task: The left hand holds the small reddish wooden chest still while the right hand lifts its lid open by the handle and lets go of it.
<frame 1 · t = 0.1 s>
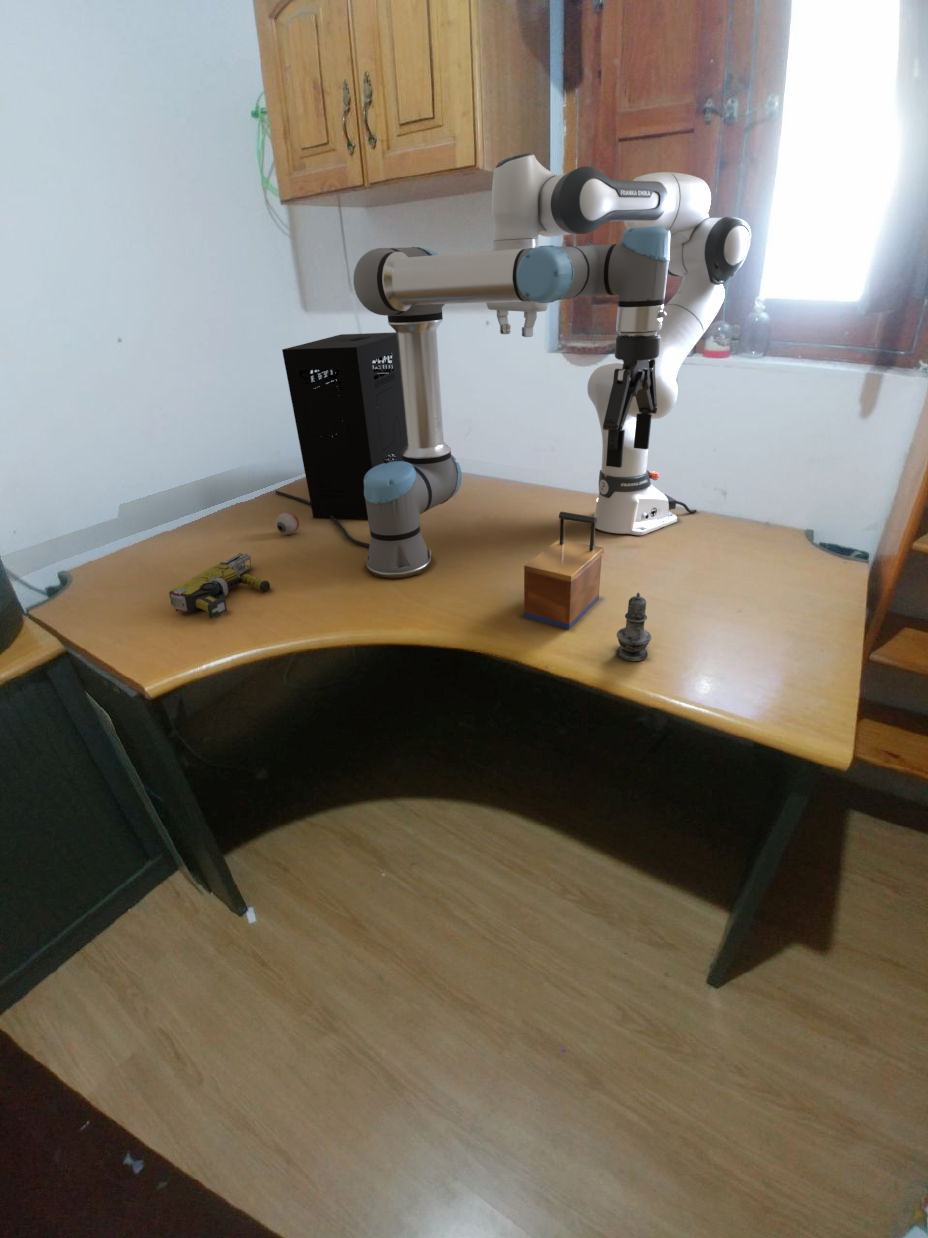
left hand: (628, 457, 114), 28 cm above the table, tool pointing down, fingers open, 13 cm apart
right hand: (516, 335, 125), 48 cm above the table, tool pointing down, fingers open, 8 cm apart
toy gun: (235, 593, 135), on the table
eyeball: (289, 534, 165), on the table
grey chess piece: (632, 653, 107), on the table
chest: (562, 607, 122), on the table
lid: (565, 542, 115), point 14 cm above the table, hinge at 0.0°
black computer case: (369, 497, 189), on the table
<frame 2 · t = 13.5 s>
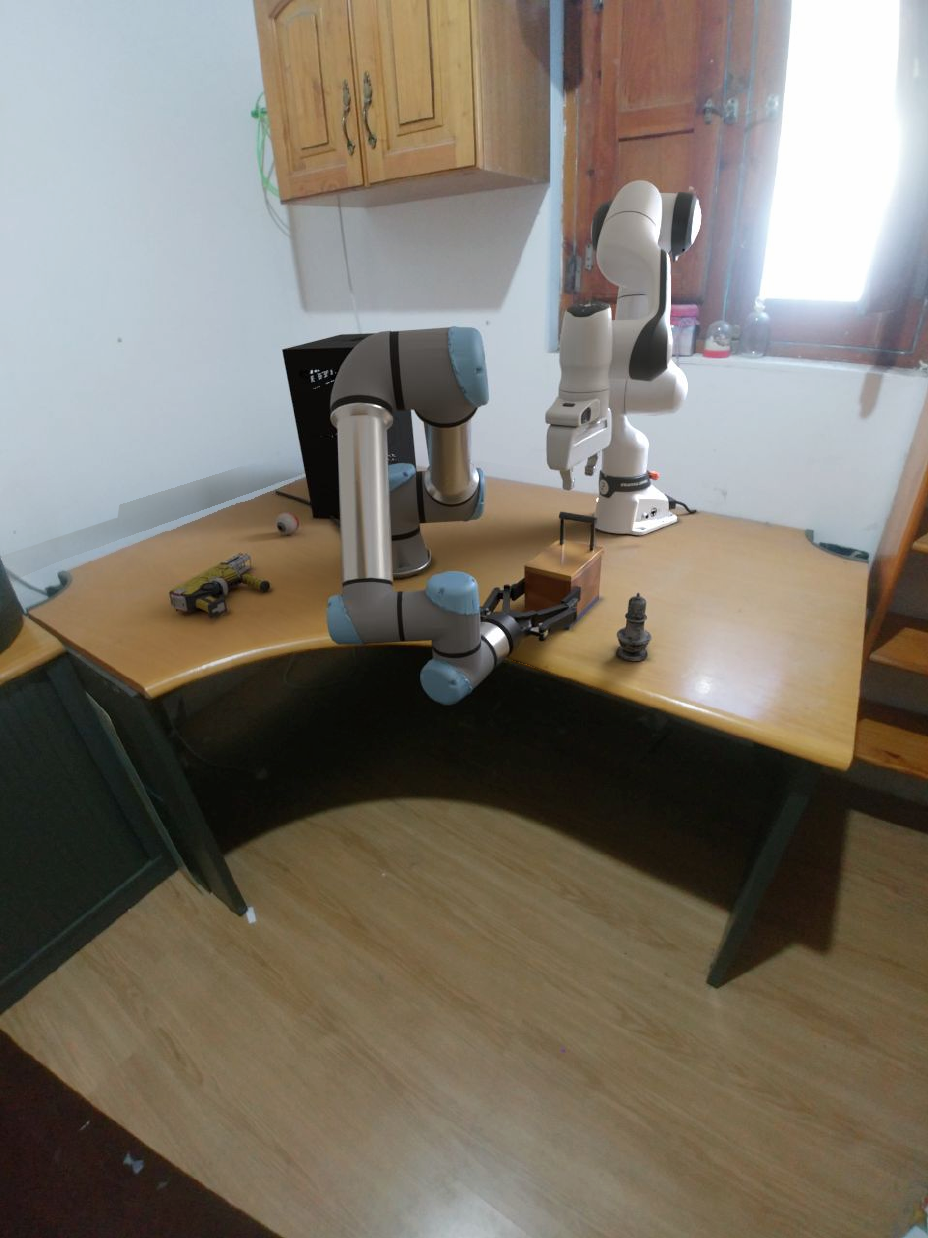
left hand: (553, 586, 116), 7 cm above the table, tool horizontal, fingers closed on chest, 10 cm apart
right hand: (579, 481, 114), 25 cm above the table, tool pointing down, fingers open, 8 cm apart
chest: (562, 607, 122), on the table, touching left hand
everything else where it was.
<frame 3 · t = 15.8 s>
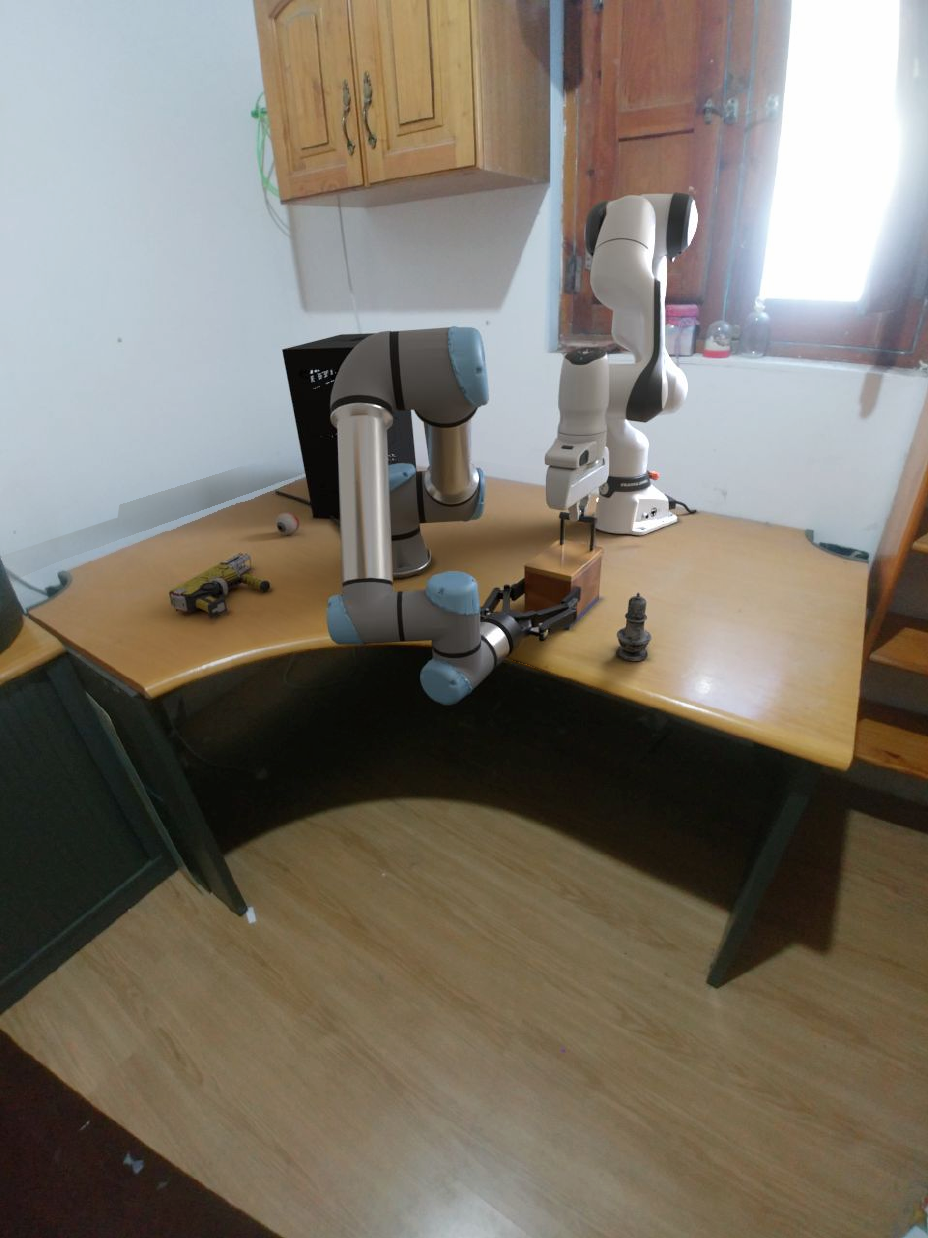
left hand: (553, 587, 116), 7 cm above the table, tool horizontal, fingers closed on chest, 10 cm apart
right hand: (578, 517, 117), 17 cm above the table, tool pointing down, fingers closed on lid
chest: (562, 607, 122), on the table, touching left hand
lid: (565, 542, 115), point 14 cm above the table, hinge at -0.1°, touching right hand
everything else where it was.
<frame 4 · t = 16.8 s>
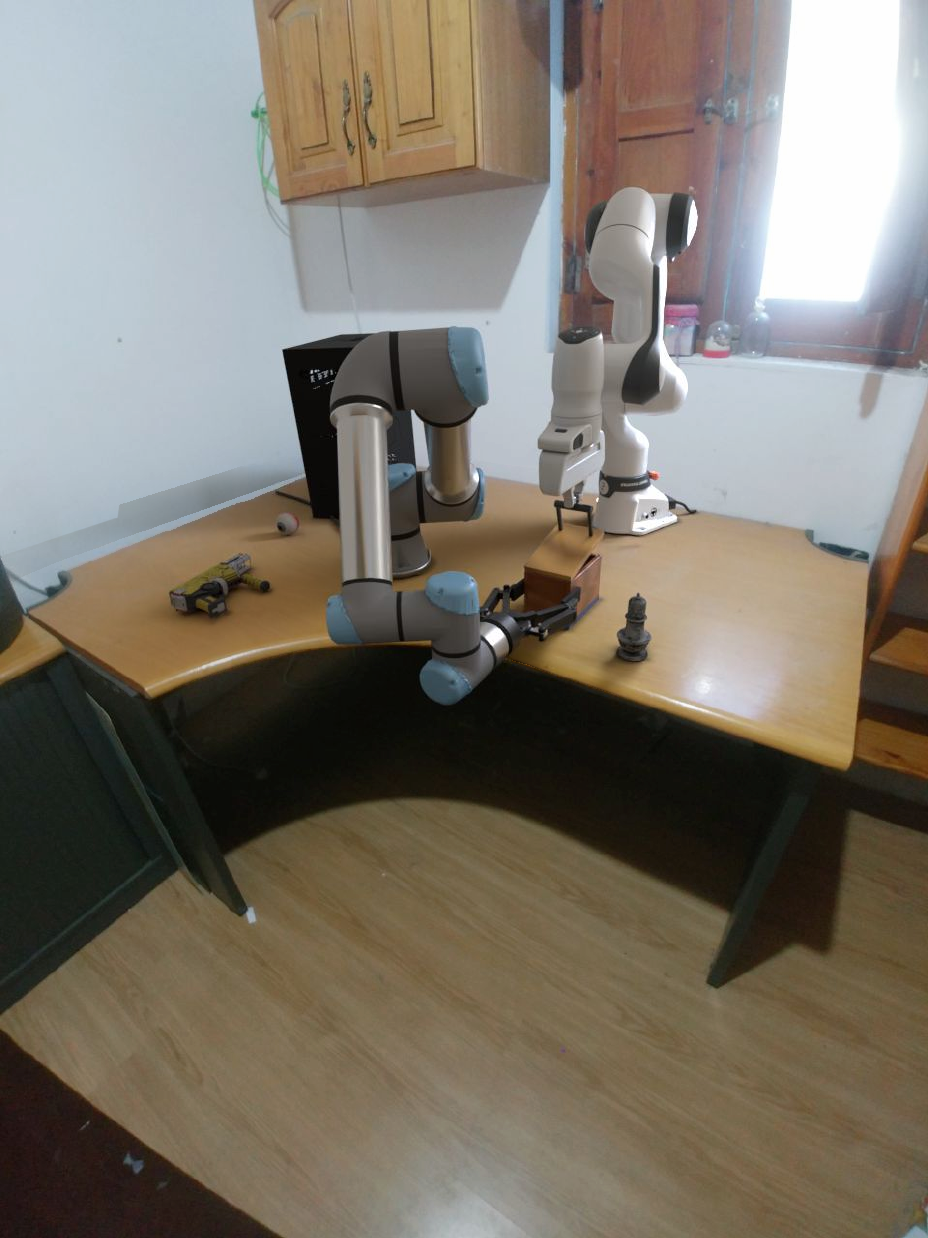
left hand: (553, 587, 116), 7 cm above the table, tool horizontal, fingers closed on chest, 10 cm apart
right hand: (573, 504, 114), 21 cm above the table, tool pointing down, fingers closed
chest: (562, 608, 122), on the table, touching left hand
lid: (562, 535, 114), point 16 cm above the table, hinge at 15.6°, touching right hand
everything else where it was.
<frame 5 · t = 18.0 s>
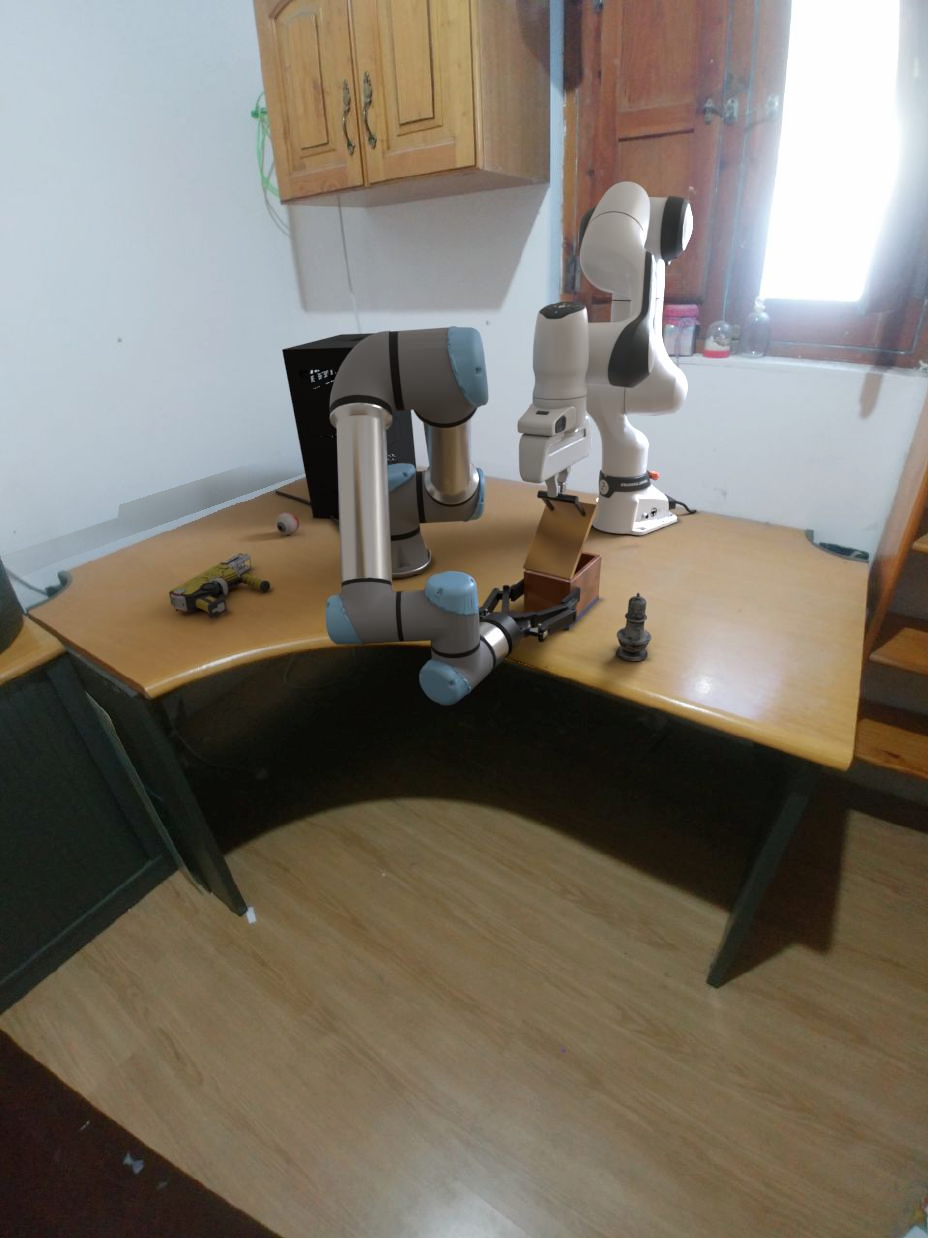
left hand: (553, 587, 116), 7 cm above the table, tool horizontal, fingers closed on chest, 10 cm apart
right hand: (556, 494, 107), 25 cm above the table, tool pointing down, fingers closed
chest: (561, 608, 122), on the table, touching left hand
lid: (554, 530, 110), point 18 cm above the table, hinge at 46.9°, touching right hand
everything else where it was.
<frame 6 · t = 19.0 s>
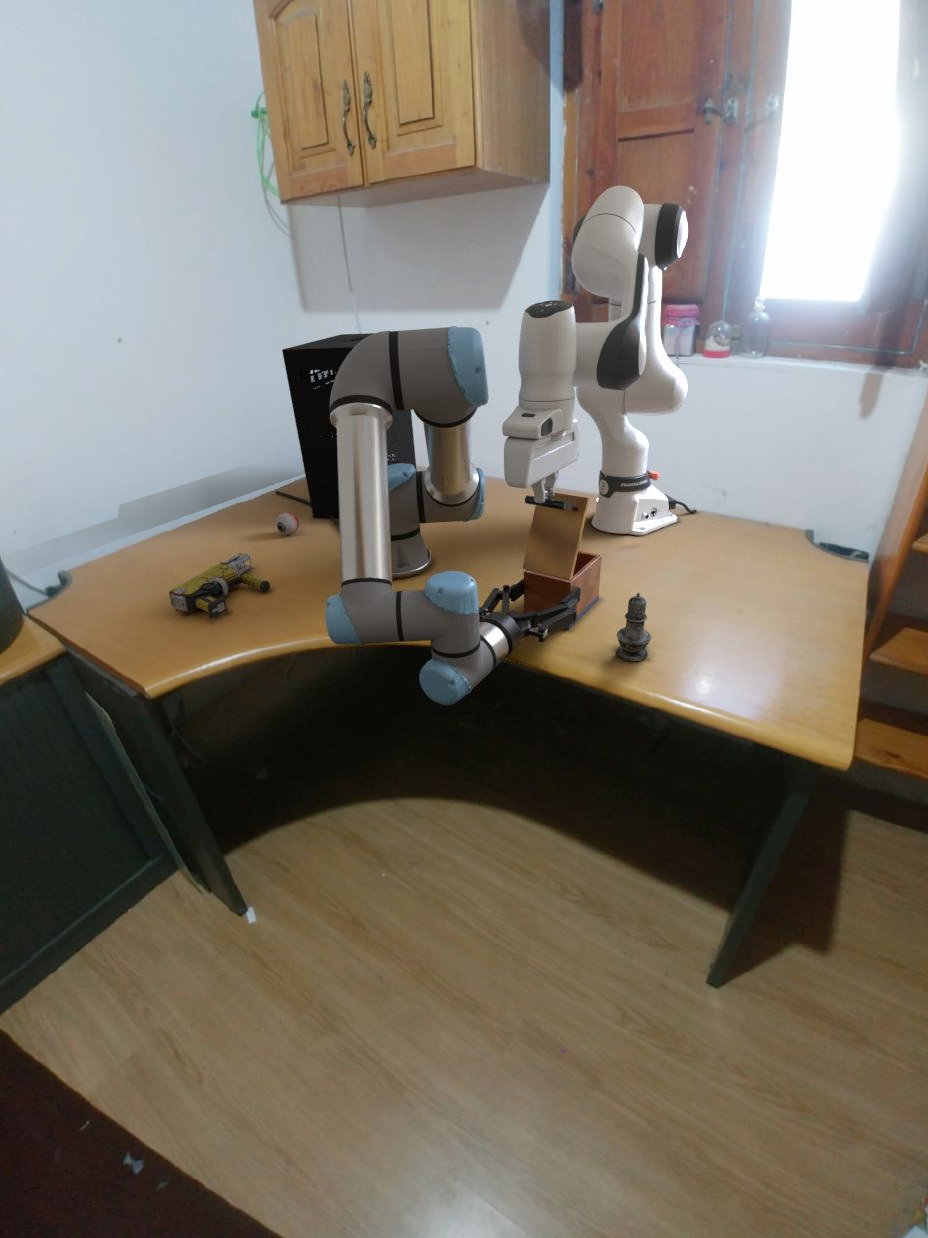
left hand: (553, 587, 116), 7 cm above the table, tool horizontal, fingers closed on chest, 10 cm apart
right hand: (544, 499, 103), 26 cm above the table, tool pointing down, fingers closed
chest: (561, 608, 122), on the table, touching left hand
lid: (547, 533, 108), point 19 cm above the table, hinge at 65.6°, touching right hand
everything else where it was.
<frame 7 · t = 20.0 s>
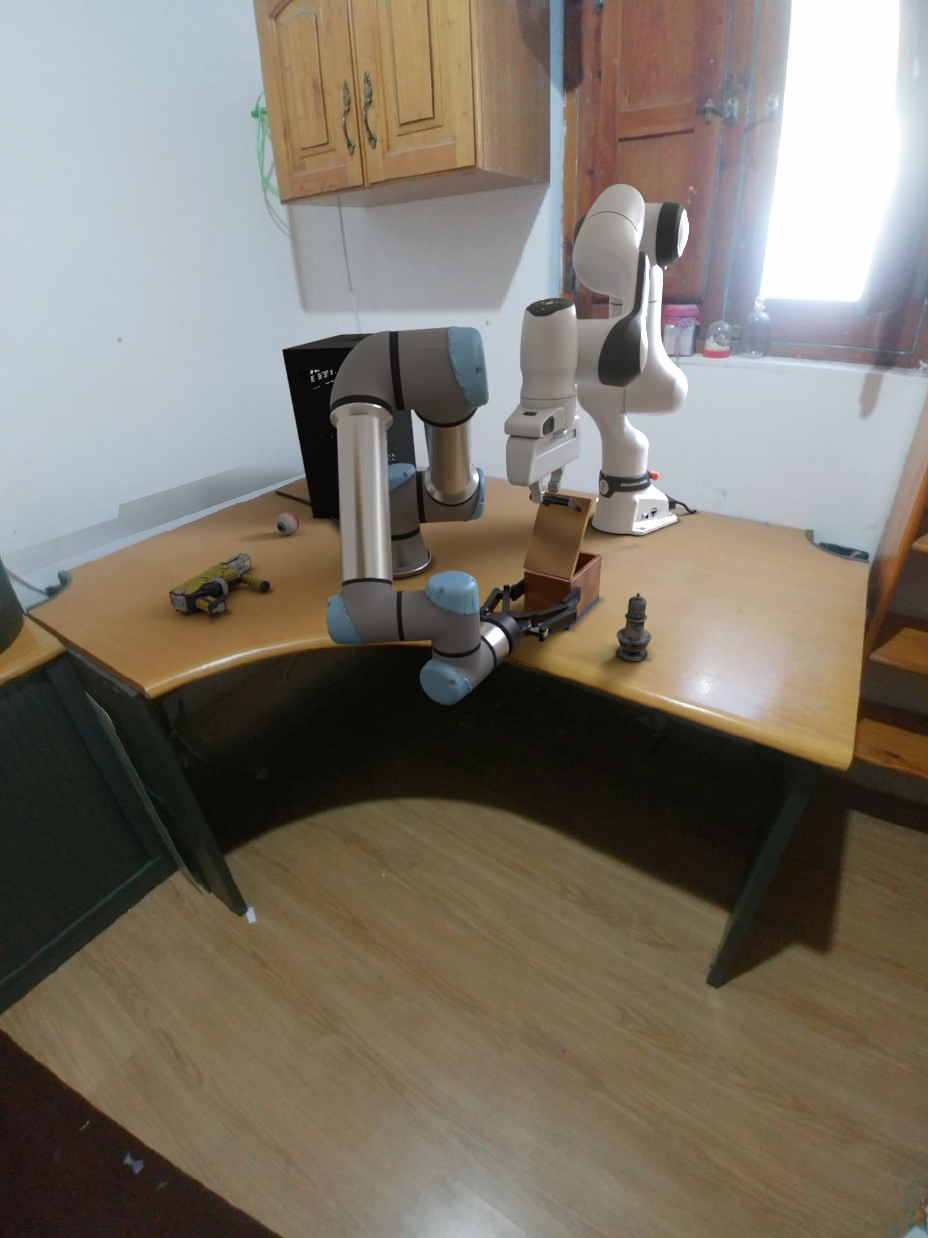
left hand: (553, 587, 116), 7 cm above the table, tool horizontal, fingers closed on chest, 10 cm apart
right hand: (546, 496, 104), 26 cm above the table, tool pointing down, fingers open, 4 cm apart
chest: (562, 608, 122), on the table, touching left hand
lid: (550, 531, 108), point 19 cm above the table, hinge at 59.1°
everything else where it was.
when the left hand's fingers open (7 cm above the table, at t = 23.3 s): chest stays where it is, on the table.
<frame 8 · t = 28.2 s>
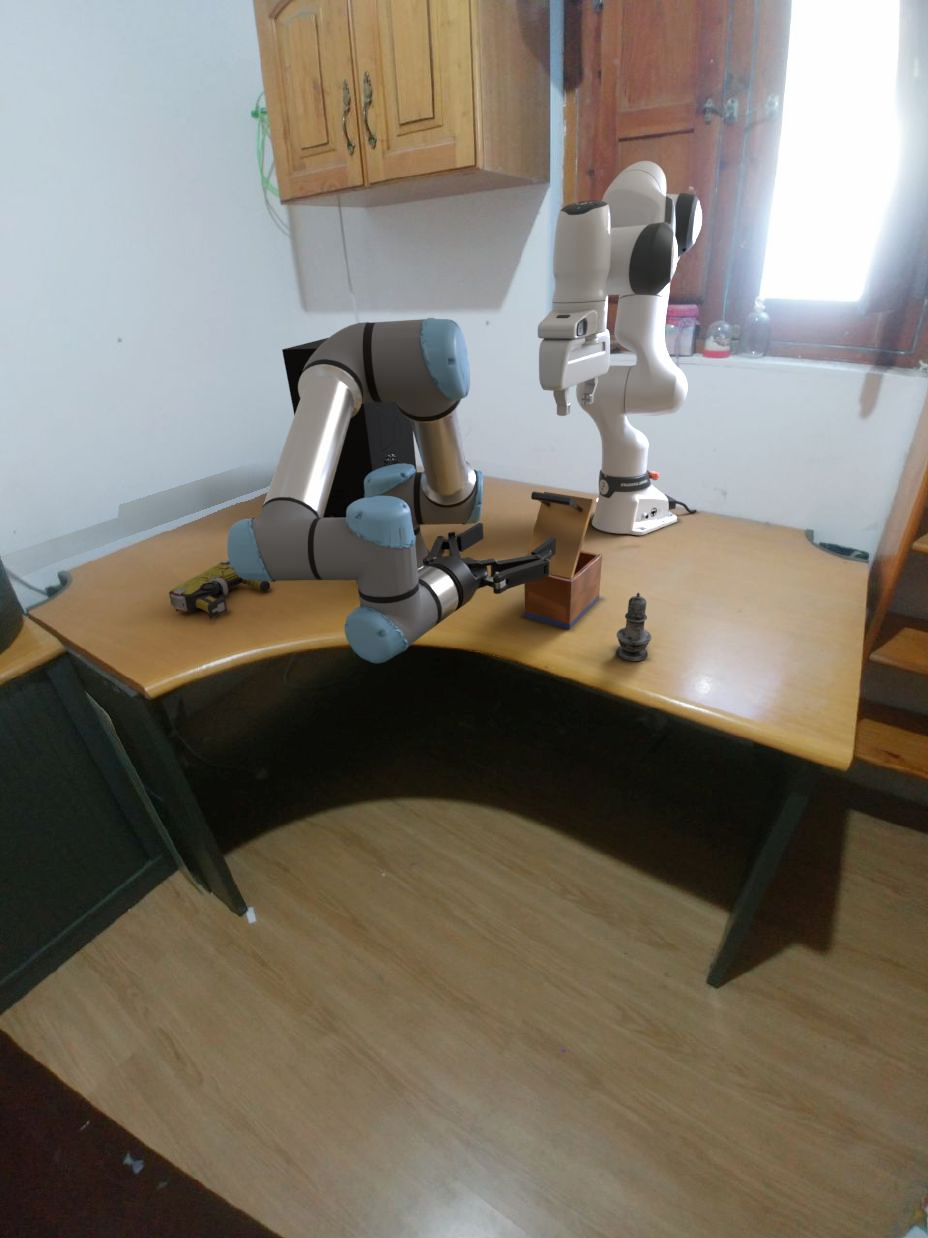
left hand: (516, 537, 98), 22 cm above the table, tool horizontal, fingers open, 13 cm apart
right hand: (575, 409, 105), 38 cm above the table, tool pointing down, fingers open, 8 cm apart
chest: (562, 607, 122), on the table
lid: (551, 530, 109), point 19 cm above the table, hinge at 57.5°
everything else where it was.
at the end: lid at +58° (first picture: +0°); the left hand is holding nothing; the right hand is holding nothing; chest tilted 0°; chest never tilted more than 1° during the clip; chest moved 0.1 cm from its start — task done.
